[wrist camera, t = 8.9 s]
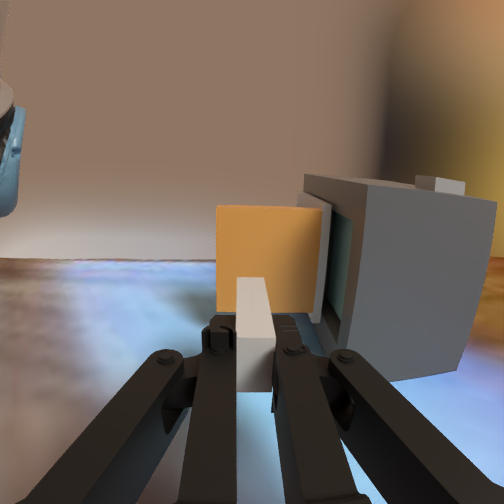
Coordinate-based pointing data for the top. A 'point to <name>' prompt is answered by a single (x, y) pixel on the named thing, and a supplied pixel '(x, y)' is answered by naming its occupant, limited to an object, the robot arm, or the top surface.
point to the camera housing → (402, 271)
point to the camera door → (274, 253)
